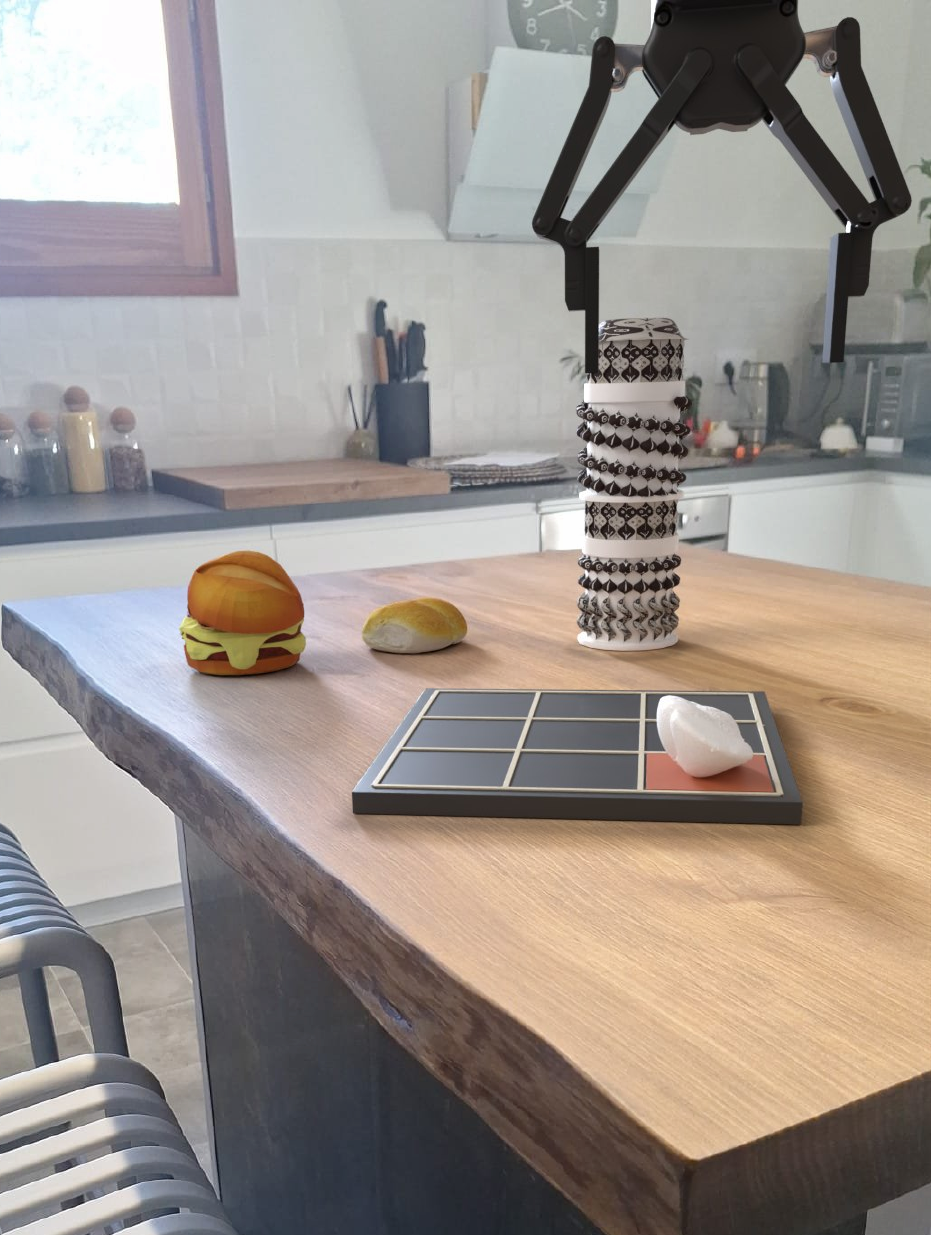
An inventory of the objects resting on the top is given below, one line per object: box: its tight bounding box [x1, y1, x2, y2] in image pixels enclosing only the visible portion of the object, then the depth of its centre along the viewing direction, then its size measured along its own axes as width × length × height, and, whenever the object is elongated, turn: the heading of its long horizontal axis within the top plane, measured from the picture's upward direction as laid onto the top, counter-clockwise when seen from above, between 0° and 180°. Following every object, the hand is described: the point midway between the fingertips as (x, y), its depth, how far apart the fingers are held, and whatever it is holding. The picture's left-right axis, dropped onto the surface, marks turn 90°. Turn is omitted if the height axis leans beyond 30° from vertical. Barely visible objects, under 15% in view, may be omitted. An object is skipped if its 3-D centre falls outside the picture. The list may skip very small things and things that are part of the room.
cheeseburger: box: [178, 550, 307, 676], centre depth 98 cm, size 10×11×10 cm
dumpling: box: [657, 695, 764, 777], centre depth 65 cm, size 7×5×4 cm
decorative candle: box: [575, 317, 694, 652], centre depth 100 cm, size 9×9×25 cm
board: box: [351, 687, 804, 826], centre depth 74 cm, size 23×23×1 cm
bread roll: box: [361, 596, 468, 654], centre depth 105 cm, size 8×9×4 cm
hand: (710, 369), depth 71 cm, fingers open, 13 cm apart
